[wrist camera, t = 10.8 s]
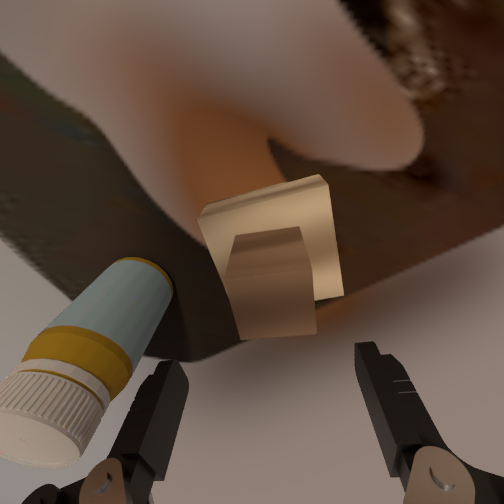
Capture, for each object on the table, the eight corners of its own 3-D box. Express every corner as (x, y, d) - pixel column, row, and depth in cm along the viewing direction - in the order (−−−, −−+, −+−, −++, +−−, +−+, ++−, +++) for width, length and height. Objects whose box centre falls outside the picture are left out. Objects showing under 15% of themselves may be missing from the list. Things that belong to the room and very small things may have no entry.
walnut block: (235, 235, 19) (223, 279, 14) (299, 226, 19) (312, 268, 14) (246, 286, 22) (240, 340, 16) (304, 279, 21) (316, 334, 16)
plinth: (207, 203, 22) (196, 219, 19) (317, 173, 21) (328, 184, 17) (240, 289, 27) (236, 314, 23) (333, 270, 25) (343, 295, 22)
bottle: (120, 305, 29) (-4, 467, 15) (102, 253, 25) (-78, 403, 12) (179, 307, 28) (104, 474, 15) (169, 254, 25) (59, 410, 12)
